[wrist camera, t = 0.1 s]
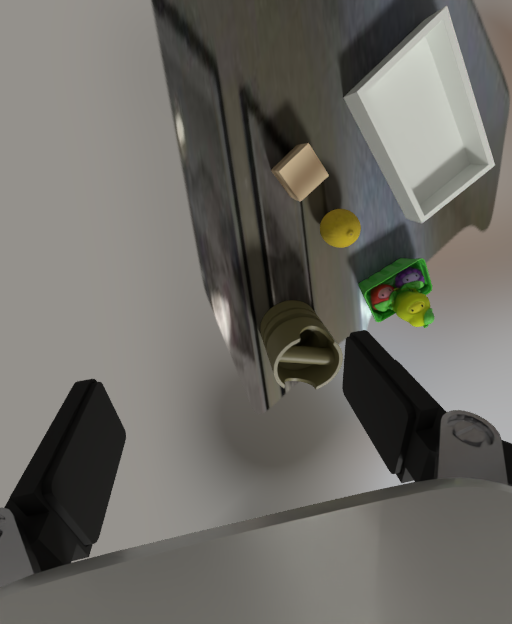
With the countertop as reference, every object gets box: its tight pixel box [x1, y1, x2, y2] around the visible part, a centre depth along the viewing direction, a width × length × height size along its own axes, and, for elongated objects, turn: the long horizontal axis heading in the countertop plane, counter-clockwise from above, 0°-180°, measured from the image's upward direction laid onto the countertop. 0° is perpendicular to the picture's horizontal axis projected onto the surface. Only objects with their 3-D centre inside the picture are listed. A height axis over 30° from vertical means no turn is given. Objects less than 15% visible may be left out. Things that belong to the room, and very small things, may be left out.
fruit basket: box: [359, 258, 434, 328], centre depth 49 cm, size 11×9×11 cm
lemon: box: [320, 209, 361, 247], centre depth 43 cm, size 6×6×8 cm
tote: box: [343, 6, 495, 223], centre depth 41 cm, size 22×13×4 cm, turn 40°
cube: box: [271, 143, 329, 202], centre depth 40 cm, size 5×5×5 cm
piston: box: [260, 300, 343, 389], centre depth 50 cm, size 11×12×11 cm
